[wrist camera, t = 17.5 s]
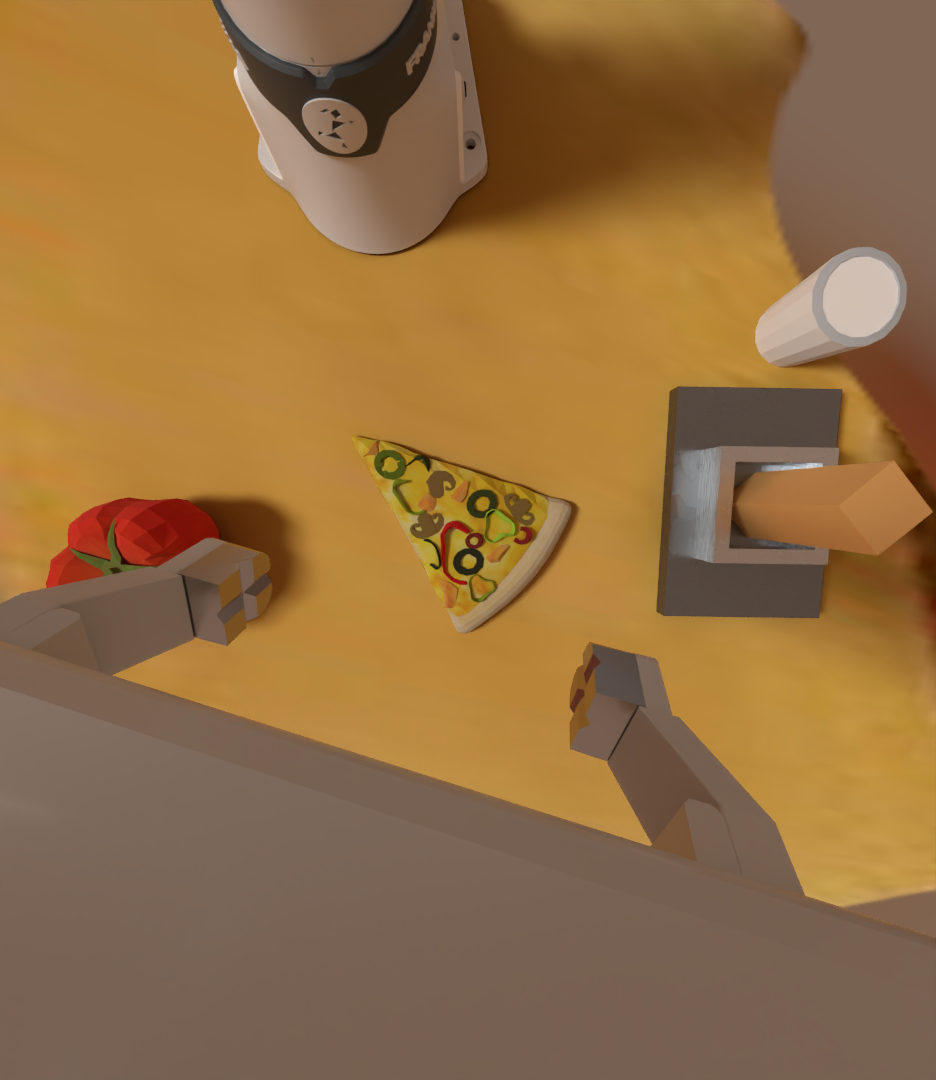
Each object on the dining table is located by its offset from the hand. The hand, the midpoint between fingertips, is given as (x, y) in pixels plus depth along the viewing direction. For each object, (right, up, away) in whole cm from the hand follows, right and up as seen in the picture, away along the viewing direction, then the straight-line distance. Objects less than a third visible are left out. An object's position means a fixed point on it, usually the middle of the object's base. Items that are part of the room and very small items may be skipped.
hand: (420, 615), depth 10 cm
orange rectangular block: (+26, +5, +27) cm, 38 cm away
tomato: (-25, 0, +29) cm, 38 cm away
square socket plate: (+26, +5, +28) cm, 39 cm away
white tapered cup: (+29, +20, +27) cm, 44 cm away
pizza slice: (-1, +5, +29) cm, 29 cm away
